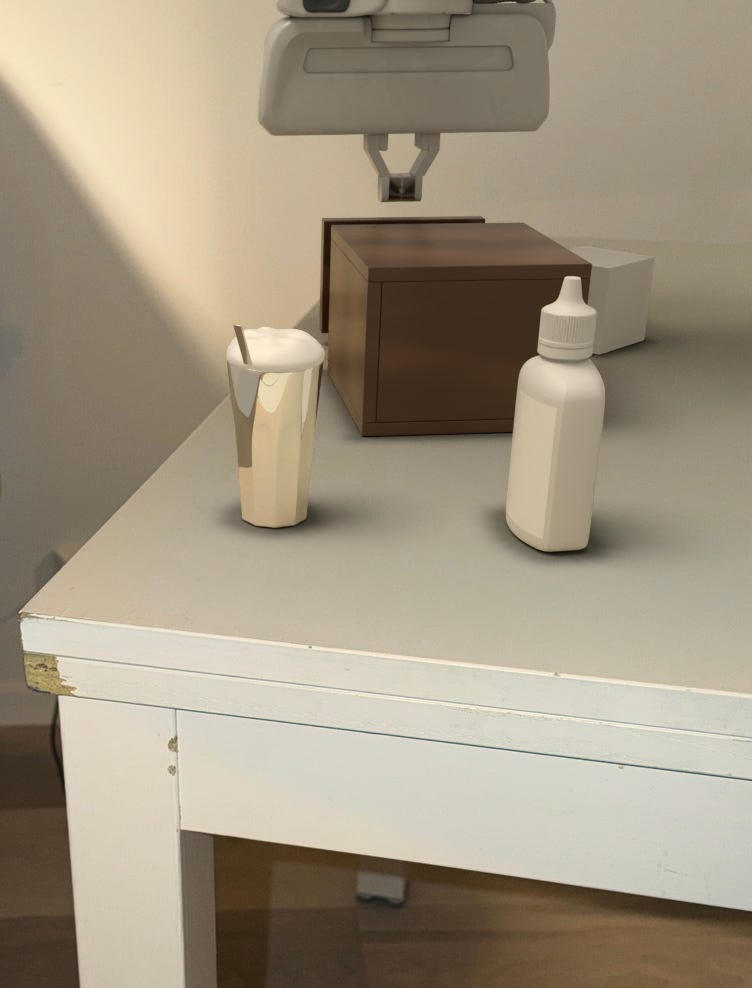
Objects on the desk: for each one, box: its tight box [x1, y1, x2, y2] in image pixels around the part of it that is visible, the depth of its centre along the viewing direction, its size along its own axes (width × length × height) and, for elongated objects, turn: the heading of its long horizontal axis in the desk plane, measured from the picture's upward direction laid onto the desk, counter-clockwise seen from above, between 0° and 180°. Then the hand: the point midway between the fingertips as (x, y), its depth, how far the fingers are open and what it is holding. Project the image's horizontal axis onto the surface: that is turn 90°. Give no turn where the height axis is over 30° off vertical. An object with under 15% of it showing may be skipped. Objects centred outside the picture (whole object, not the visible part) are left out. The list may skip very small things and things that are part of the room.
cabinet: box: [327, 222, 592, 437], centre depth 80 cm, size 14×13×10 cm
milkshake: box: [225, 323, 326, 529], centre depth 62 cm, size 4×5×10 cm
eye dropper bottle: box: [505, 276, 606, 553], centre depth 60 cm, size 4×6×12 cm
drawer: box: [318, 215, 486, 334], centre depth 90 cm, size 18×11×8 cm, turn 6°
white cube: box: [567, 245, 656, 356], centre depth 95 cm, size 6×6×6 cm
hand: (399, 201), depth 94 cm, fingers closed
